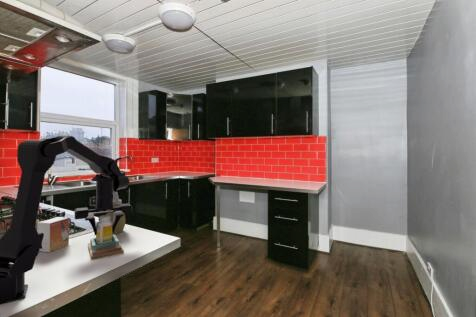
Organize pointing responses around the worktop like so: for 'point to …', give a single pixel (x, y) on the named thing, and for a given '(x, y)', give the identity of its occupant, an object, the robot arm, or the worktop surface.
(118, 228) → the squeeze bottle
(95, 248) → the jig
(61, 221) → the small box
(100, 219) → the supplement bottle
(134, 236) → the worktop surface
